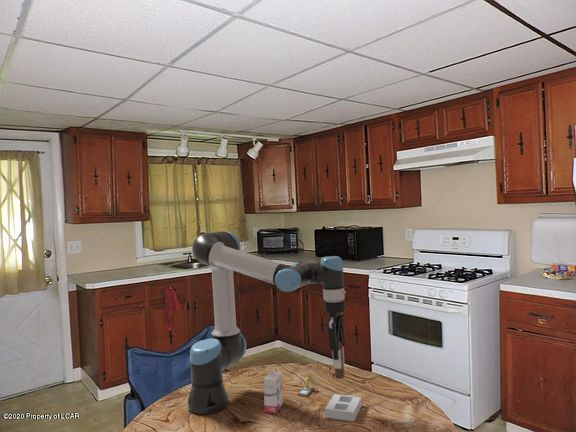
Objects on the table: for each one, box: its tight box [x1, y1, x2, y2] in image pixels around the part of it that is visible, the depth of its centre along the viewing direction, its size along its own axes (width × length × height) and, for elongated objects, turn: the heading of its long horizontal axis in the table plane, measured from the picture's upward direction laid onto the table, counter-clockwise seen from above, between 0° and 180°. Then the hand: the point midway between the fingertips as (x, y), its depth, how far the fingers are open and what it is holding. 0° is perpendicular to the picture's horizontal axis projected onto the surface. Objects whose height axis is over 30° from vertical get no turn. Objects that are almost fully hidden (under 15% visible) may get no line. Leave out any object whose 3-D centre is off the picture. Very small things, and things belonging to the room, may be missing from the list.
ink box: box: [263, 370, 284, 414], centre depth 151 cm, size 9×5×12 cm, turn 165°
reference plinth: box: [297, 376, 315, 397], centre depth 164 cm, size 4×8×5 cm, turn 158°
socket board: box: [324, 393, 363, 422], centre depth 146 cm, size 10×12×3 cm
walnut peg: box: [334, 342, 345, 380], centre depth 147 cm, size 3×3×12 cm
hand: (339, 366), depth 147 cm, fingers closed on walnut peg, 3 cm apart
